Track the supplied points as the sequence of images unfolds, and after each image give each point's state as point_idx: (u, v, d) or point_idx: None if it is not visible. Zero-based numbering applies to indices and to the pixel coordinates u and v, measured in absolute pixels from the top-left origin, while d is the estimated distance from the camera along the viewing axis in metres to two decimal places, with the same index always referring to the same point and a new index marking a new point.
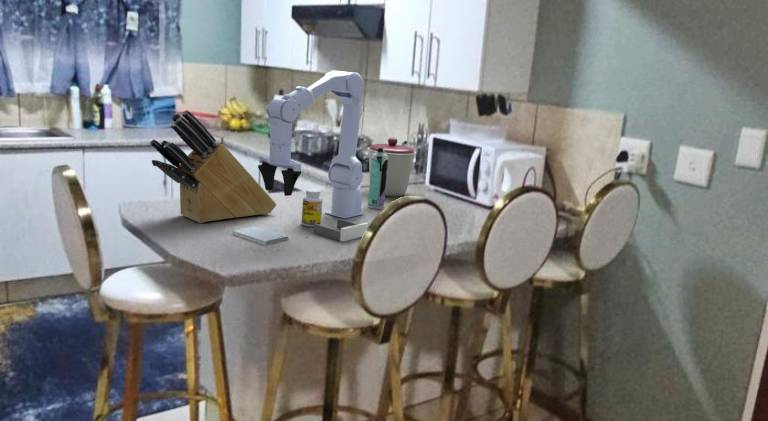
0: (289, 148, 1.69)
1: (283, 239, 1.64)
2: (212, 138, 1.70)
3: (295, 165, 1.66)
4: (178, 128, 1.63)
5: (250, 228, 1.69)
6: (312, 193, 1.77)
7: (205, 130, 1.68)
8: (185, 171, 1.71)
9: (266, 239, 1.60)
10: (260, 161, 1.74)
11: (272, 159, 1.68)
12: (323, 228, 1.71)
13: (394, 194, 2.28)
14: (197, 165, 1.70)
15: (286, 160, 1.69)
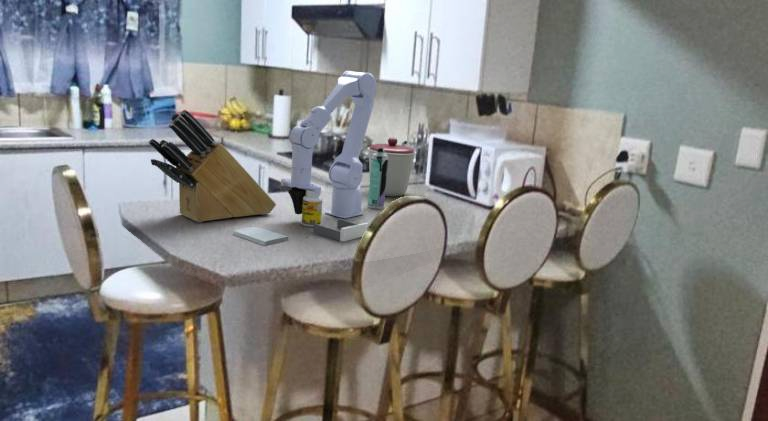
0: (309, 172, 1.80)
1: (283, 239, 1.63)
2: (210, 138, 1.71)
3: (315, 188, 1.77)
4: (176, 128, 1.64)
5: (251, 228, 1.69)
6: (312, 193, 1.77)
7: (203, 130, 1.69)
8: (184, 170, 1.72)
9: (266, 239, 1.60)
10: (282, 184, 1.85)
11: (293, 182, 1.79)
12: (323, 228, 1.71)
13: (394, 194, 2.28)
14: (195, 165, 1.71)
15: (307, 183, 1.80)
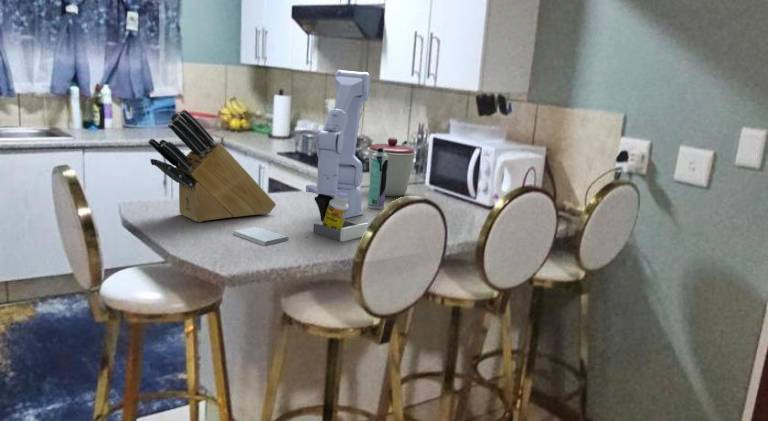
0: (336, 178, 1.74)
1: (283, 239, 1.63)
2: (210, 138, 1.71)
3: (343, 195, 1.71)
4: (176, 127, 1.64)
5: (251, 228, 1.69)
6: (340, 200, 1.71)
7: (203, 129, 1.69)
8: (183, 170, 1.72)
9: (266, 239, 1.60)
10: (307, 190, 1.79)
11: (320, 189, 1.73)
12: (323, 228, 1.71)
13: (394, 194, 2.28)
14: (195, 165, 1.71)
15: (333, 190, 1.74)
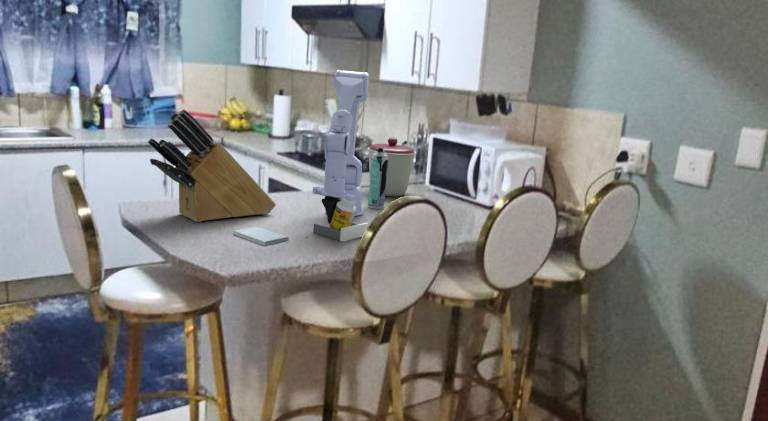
0: (343, 180, 1.72)
1: (283, 240, 1.63)
2: (209, 137, 1.71)
3: (350, 197, 1.69)
4: (175, 127, 1.64)
5: (251, 228, 1.69)
6: (347, 202, 1.69)
7: (202, 129, 1.69)
8: (183, 170, 1.72)
9: (265, 239, 1.60)
10: (313, 192, 1.78)
11: (327, 191, 1.72)
12: (323, 228, 1.71)
13: (394, 194, 2.28)
14: (194, 165, 1.71)
15: (341, 192, 1.72)
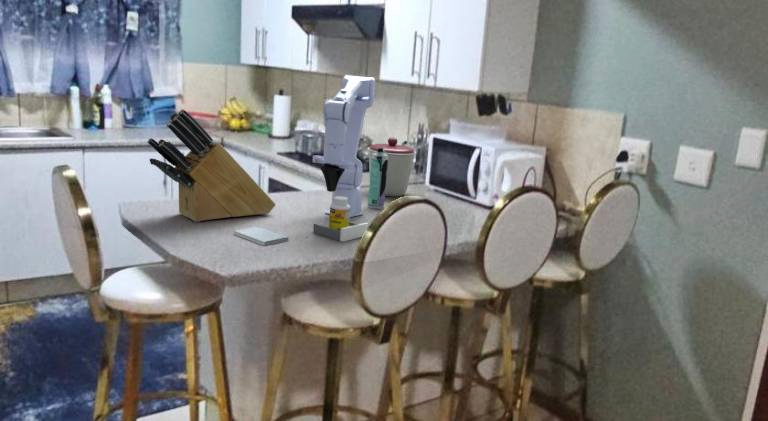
0: (343, 148, 1.76)
1: (283, 240, 1.63)
2: (209, 137, 1.71)
3: (349, 164, 1.73)
4: (174, 127, 1.65)
5: (251, 228, 1.69)
6: (340, 201, 1.71)
7: (201, 129, 1.69)
8: (182, 170, 1.73)
9: (265, 239, 1.59)
10: (313, 161, 1.81)
11: (326, 158, 1.75)
12: (323, 228, 1.71)
13: (394, 194, 2.28)
14: (193, 164, 1.71)
15: (340, 159, 1.75)
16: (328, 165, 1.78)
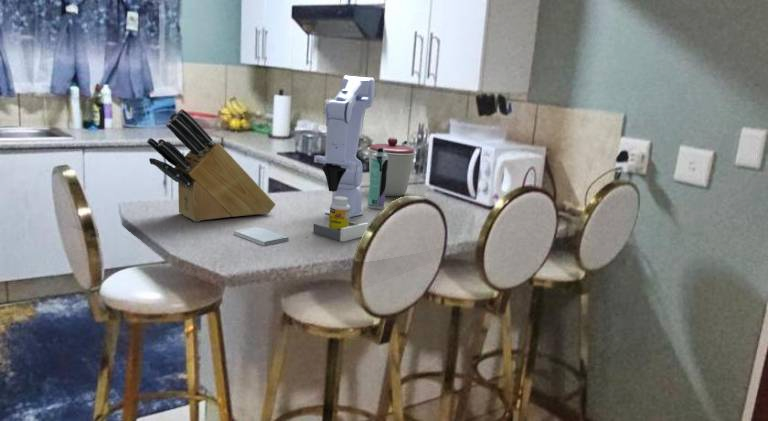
0: (344, 148, 1.76)
1: (283, 240, 1.63)
2: (208, 137, 1.71)
3: (351, 164, 1.73)
4: (173, 127, 1.65)
5: (252, 228, 1.68)
6: (340, 201, 1.71)
7: (201, 129, 1.69)
8: (182, 170, 1.73)
9: (265, 240, 1.59)
10: (315, 161, 1.81)
11: (328, 158, 1.75)
12: (323, 228, 1.71)
13: (394, 194, 2.28)
14: (193, 164, 1.72)
15: (341, 159, 1.76)
16: (330, 165, 1.78)
